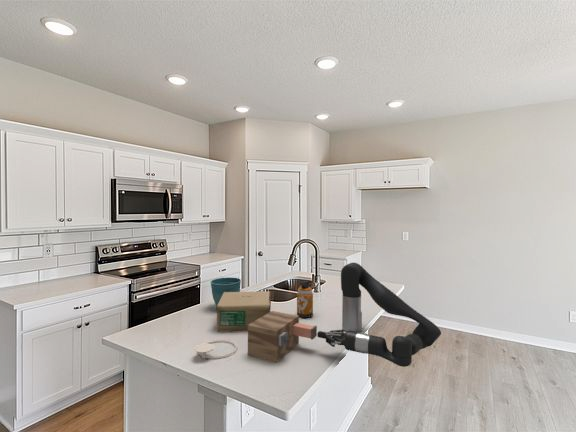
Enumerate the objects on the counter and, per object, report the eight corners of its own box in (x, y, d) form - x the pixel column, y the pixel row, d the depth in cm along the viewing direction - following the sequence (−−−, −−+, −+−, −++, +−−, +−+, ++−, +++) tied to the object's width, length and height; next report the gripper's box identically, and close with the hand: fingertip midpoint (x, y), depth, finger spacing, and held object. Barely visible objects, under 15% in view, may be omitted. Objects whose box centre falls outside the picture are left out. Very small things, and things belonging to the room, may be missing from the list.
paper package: (215, 333, 155) (215, 304, 155) (223, 314, 181) (223, 290, 180) (271, 331, 157) (271, 304, 156) (271, 314, 182) (271, 290, 182)
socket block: (272, 336, 150) (272, 310, 150) (298, 342, 144) (298, 315, 143) (247, 354, 132) (247, 325, 132) (276, 362, 126) (276, 331, 125)
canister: (294, 316, 177) (294, 281, 176) (302, 311, 187) (302, 277, 186) (308, 319, 173) (309, 283, 172) (316, 313, 183) (316, 279, 182)
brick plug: (285, 329, 145) (285, 319, 144) (316, 335, 137) (316, 325, 137) (280, 332, 141) (280, 322, 141) (312, 339, 133) (312, 329, 133)
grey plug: (256, 335, 138) (256, 325, 137) (287, 342, 130) (287, 332, 130) (250, 339, 134) (250, 329, 134) (282, 347, 127) (282, 336, 126)
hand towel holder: (245, 337, 140) (212, 356, 122) (245, 347, 140) (212, 367, 122) (216, 329, 148) (182, 346, 130) (216, 338, 148) (182, 357, 131)
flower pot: (205, 312, 185) (204, 283, 184) (218, 302, 202) (218, 276, 202) (233, 314, 180) (233, 285, 180) (245, 305, 198) (245, 278, 197)
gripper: (353, 358, 121) (311, 348, 129) (362, 344, 132) (323, 336, 140) (353, 339, 120) (311, 330, 128) (362, 327, 132) (323, 320, 140)
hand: (318, 333), depth 134 cm, fingers closed
